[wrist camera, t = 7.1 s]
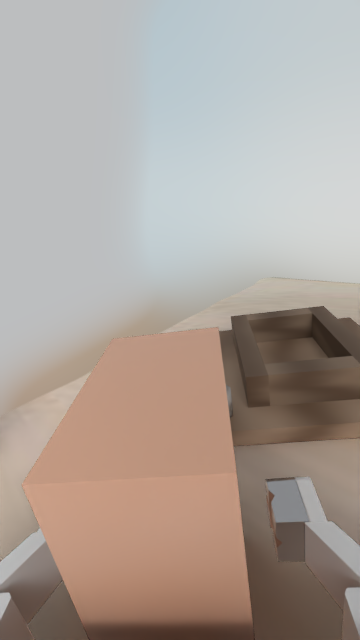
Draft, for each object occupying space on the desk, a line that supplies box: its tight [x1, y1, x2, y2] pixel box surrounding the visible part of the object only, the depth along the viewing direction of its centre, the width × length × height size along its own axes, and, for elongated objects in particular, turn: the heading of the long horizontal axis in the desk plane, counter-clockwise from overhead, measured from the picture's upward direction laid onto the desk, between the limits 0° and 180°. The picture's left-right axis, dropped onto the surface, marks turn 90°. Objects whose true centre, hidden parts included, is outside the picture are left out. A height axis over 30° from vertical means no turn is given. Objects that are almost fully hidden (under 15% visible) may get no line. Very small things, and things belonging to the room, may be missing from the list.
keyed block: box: [22, 327, 255, 640], centre depth 11 cm, size 4×6×11 cm, turn 177°
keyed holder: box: [219, 306, 360, 446], centre depth 27 cm, size 16×16×4 cm
